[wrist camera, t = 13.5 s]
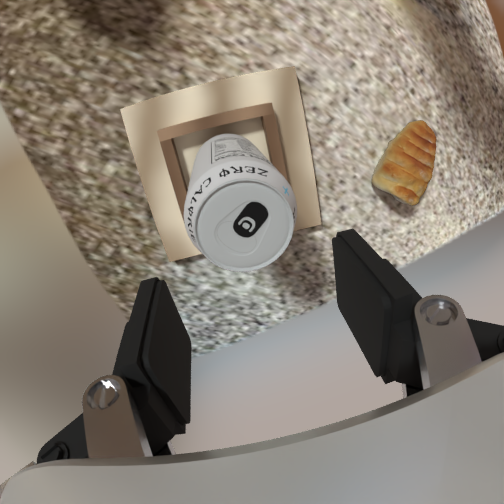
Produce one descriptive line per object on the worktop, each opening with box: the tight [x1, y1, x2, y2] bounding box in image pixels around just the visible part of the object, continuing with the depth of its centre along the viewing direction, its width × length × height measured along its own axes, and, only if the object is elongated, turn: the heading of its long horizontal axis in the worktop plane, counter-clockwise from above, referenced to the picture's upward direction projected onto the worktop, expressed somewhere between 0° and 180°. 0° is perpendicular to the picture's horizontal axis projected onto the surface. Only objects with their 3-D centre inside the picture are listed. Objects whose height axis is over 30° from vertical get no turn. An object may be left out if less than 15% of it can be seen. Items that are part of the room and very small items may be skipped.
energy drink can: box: [184, 134, 297, 272], centre depth 22 cm, size 6×6×15 cm
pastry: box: [372, 120, 436, 206], centre depth 30 cm, size 9×7×4 cm
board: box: [120, 66, 321, 262], centre depth 28 cm, size 16×16×3 cm
